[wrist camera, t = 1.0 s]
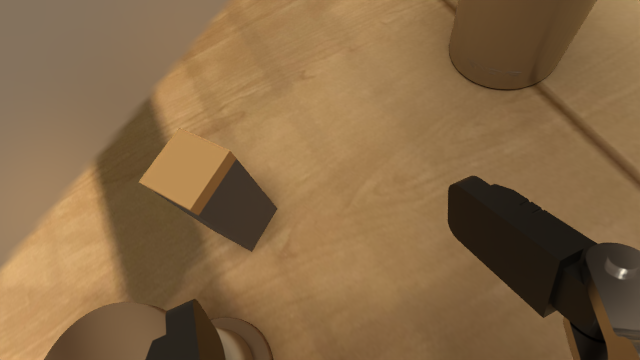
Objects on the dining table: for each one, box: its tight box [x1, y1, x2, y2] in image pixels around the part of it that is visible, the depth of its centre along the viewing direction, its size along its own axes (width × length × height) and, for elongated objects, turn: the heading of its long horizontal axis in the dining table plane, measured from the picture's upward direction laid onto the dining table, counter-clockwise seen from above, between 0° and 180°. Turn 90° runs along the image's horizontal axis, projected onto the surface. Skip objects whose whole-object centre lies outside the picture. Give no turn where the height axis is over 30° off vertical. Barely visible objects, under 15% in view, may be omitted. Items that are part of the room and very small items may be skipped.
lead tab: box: [139, 128, 277, 252], centre depth 25 cm, size 4×4×10 cm
